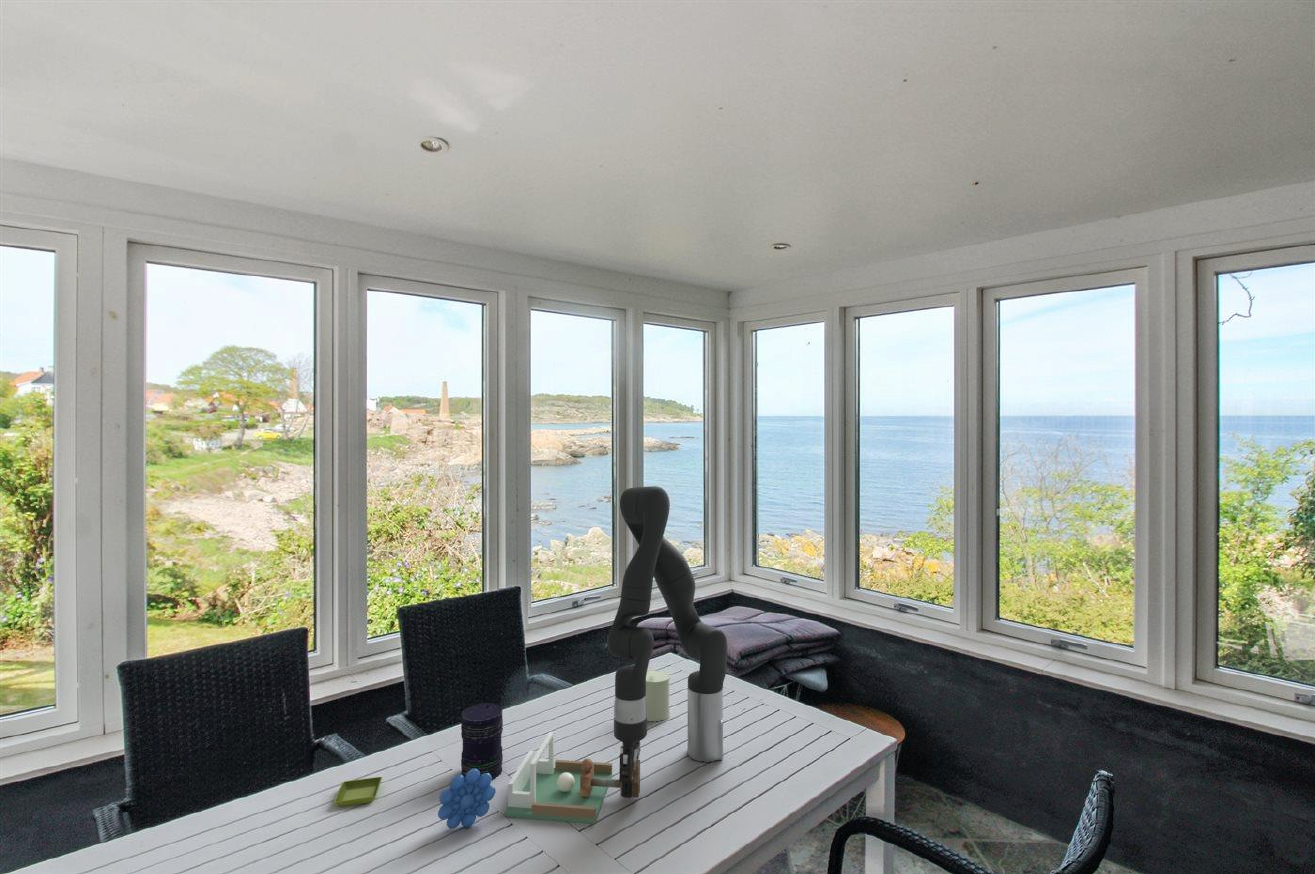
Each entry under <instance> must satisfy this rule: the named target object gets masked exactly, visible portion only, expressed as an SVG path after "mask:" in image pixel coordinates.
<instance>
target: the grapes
mask: <svg viewBox="0 0 1315 874" xmlns="http://www.w3.org/2000/svg"><path fill="white" fill-rule="evenodd" d="M492 782H493V780H492V776H491V775H490V774H489V773H484V774H482V775H481V776H480V772H479V770H478V769H475V768H474V769H471V770H470V771H468V772H467V774H466V777H464V776H463V775H462V774H456V775H455V776H454V777H452V779H451V781H450V783H449V787H450V788H449V787H448V788H445V789H444V790H443V791H441V792H440V795H439V796H438V797H439V803H440V804H441V806H440V807H439V810H438V811H437V817H438V818H439V819H440V820H442V821H445V820H446V826H447V828H448V829H451V830H453V829H456V828H458V826H460V825H461V826H463V828H469V827H472V826H473V825H474V823H475V822H476V819H477V817H479V818H481V817H484V816H485V815H486V814H488V811H489V809H490V803H489V802H490V801H491V800H493V799H494V797H495V794H496V788H495V787H494V785H491V783H492Z"/></svg>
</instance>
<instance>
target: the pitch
mask: <svg viewBox="0 0 1315 874" xmlns="http://www.w3.org/2000/svg"><path fill="white" fill-rule="evenodd" d="M547 748H548V758H541V757H542V756H543V754H544V753H545V751H546V749H547ZM582 762H583V760H581V761H580V760H564V759H563V760H562V759H556V760H555V732H554V731H549V732H548V734H547V736H546V737H545V739H544V740H543V743H542V744H541V745H540V747H539V748H538V750H537V752H536V753H535V750H534V749H533V750H532V749H530V750H529V751H528V753H527V754H526V756H525V757H524V758H523V760H522V762H521V763H520V765H519V766H518V768H517V770H516V771H515V773H514V774H513V776H512V777H511V779H510V780H509V782H508V783H507V807H506V809H505V811H504V817H505V818H517V819H529V820H530V819H531V820H540V821H541V820H542V821H543V820H545V821H553V822H554V821H555V822H567V823H568V822H570V823H583V824H593V825H594V824H596V823H597V820H598V817H599V815H600V812H601V808H602V806H603V804H604V800H605V798H606V795H607V791H608V789H609V787H600V786H593V788H592V791H591V793H590V796H589V797H584V796H580V776H581V774H582V771H583V769H582ZM592 762H593V765H594V778H601V779H613V778H612V777H613V763H612V762H611V763H610V762H597V761H592ZM565 772H568V773H570V774H572V775H573V777H574V780H575V784H574V787H573V788H572V790H570V791H569V792H562V791H560V790H559V788H558V786H557V780H558V778H559V776H560V775H561V774H562V773H565Z"/></svg>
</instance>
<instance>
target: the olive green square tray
mask: <svg viewBox="0 0 1315 874" xmlns="http://www.w3.org/2000/svg"><path fill="white" fill-rule="evenodd" d="M382 780H383V776H376V777H375V776H374V777H368V778H367V777H366V778H360V779H353V780H351V779H350V780H346V781H343V782H341V785H340V787H339V789H338V792H337V793H336V796H335V798H334V801H333V803H334V804H335V805H336V806H338V807H346V806H347V807H348V806H355V805H361V804H368V803H372V802H373V801H374V800H375V799H376V797H377V794H378V791H379V789H380V785H381V783H382Z"/></svg>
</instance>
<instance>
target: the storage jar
mask: <svg viewBox="0 0 1315 874" xmlns="http://www.w3.org/2000/svg"><path fill="white" fill-rule="evenodd" d="M503 723H504V721H503V707H502V706H501V705H499V704H495V703H492V702H491V703H487V702H486V703H478V704H473V705H470V706H468V707H467V708H465V709H464V710H463V711H461V727H460V729H461V733H460V734H461V735H460V736H461V739H462V751H461V755H460V756H461V760H460V764H461V765H460V766H461V775H463V776H464V777H466V774H467V772H468V771H470V770H471V769H474V768H475V769H478V770H479V772H480V776H481V775H482V774H484V773H489V774H490V775H491V776H492V781H494V780H496V779H497V778H498V776H499V775H500V776H501V775H502V772H503V756H504V755H503V746H502V734H503V729H504V727H503ZM500 776H499V777H500ZM496 777H497V778H496ZM495 778H496V779H495ZM493 779H494V780H493Z"/></svg>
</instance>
